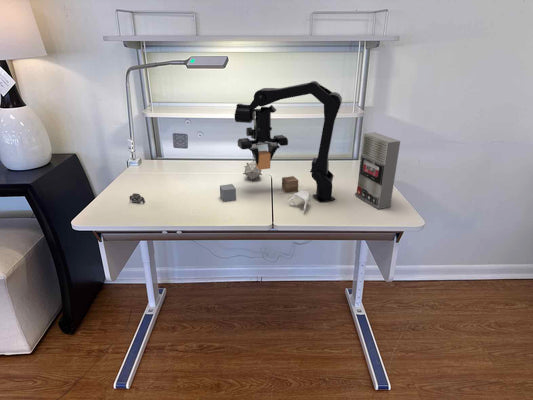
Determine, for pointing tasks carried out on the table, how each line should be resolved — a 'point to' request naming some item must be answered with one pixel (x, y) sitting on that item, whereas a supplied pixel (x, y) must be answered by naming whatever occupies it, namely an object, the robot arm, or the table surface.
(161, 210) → the table surface
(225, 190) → the charcoal grey block
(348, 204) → the table surface
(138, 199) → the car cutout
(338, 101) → the robot arm
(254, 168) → the grey spiky ball
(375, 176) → the cassette tape recorder
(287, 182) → the walnut block
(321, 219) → the table surface
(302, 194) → the origami figure
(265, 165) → the rust orange block
